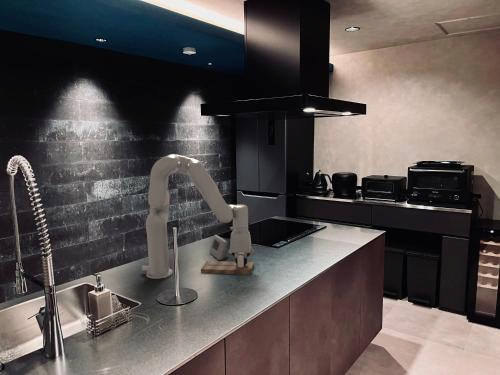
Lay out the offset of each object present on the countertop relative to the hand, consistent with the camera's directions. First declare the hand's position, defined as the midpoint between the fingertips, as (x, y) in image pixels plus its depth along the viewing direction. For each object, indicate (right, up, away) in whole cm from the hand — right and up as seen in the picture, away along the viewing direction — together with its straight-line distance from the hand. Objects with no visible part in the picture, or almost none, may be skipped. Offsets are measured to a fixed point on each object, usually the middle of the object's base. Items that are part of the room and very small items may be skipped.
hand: (241, 264), depth 193 cm
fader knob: (0, 0, 0) cm, 0 cm away
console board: (-7, -3, +1) cm, 8 cm away
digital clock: (-13, 0, +22) cm, 26 cm away
